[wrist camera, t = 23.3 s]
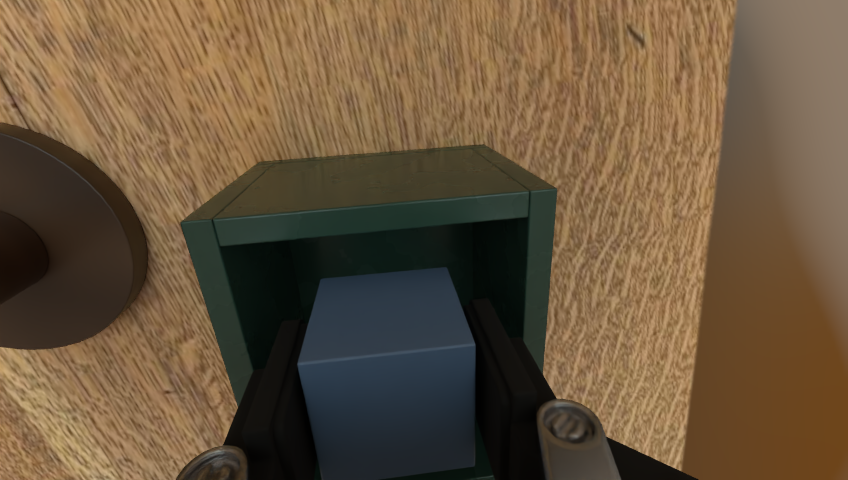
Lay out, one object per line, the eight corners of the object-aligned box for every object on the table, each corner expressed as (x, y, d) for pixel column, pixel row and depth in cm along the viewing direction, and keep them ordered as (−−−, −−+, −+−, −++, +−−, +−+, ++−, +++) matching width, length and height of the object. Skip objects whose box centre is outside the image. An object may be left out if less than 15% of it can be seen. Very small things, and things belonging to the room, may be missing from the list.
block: (320, 277, 12) (295, 363, 9) (447, 266, 13) (476, 343, 9) (337, 379, 14) (323, 488, 10) (450, 366, 14) (476, 467, 10)
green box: (258, 161, 17) (178, 222, 10) (484, 144, 18) (558, 188, 11) (306, 378, 22) (274, 524, 15) (483, 356, 23) (534, 483, 16)
